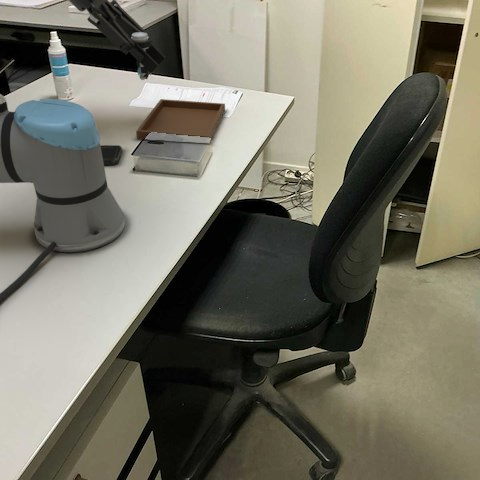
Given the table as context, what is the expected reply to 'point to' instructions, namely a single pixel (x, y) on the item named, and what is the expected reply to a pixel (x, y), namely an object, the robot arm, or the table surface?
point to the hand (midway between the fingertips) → (158, 65)
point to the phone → (111, 154)
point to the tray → (183, 118)
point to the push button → (144, 43)
